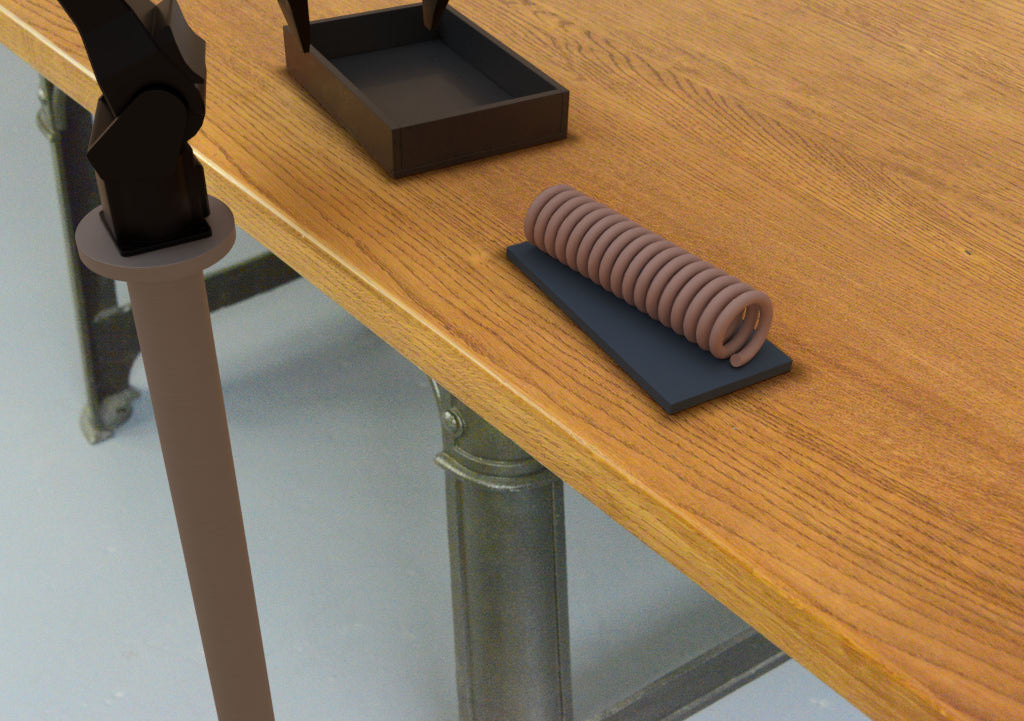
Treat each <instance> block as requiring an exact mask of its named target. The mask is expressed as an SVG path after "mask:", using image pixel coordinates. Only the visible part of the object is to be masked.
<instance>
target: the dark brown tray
mask: <svg viewBox="0 0 1024 721" xmlns="http://www.w3.org/2000/svg"><path fill="white" fill-rule="evenodd" d="M310 32H311V38H310V51H309V53H306V54H304V53H302V52H301V51H300V50H299V48H298V46H297V44H296V42H295V40H294V37H293V35H292V33H291V31H290V28H289V26H288V24H286V25H285V24H284V25H282V34H283V45H284V55H285V66H286V71H287V72H288V73H289V74H290V75H291V76H292V77H293V78H294V79H295V81H297V83H298V84H300V86H301V87H303V89H304V90H305V91H306V92H307V93H309V95H310V96H311V97H312V98H314V100H315V101H316V102H317V103H318V104H319V105H320V106H321V107H322V108H323V109H324V110H325V111H326V112H327V113H328V114H329V115H330V116H331V117H332V118H333V120H335V121H336V122H337V123H338V124H339V125H340V126H341V127H342V128H343V129H344V130H345V131H346V132H347V133H348V134H349V135H350V136H351V137H352V138H353V139H354V140H355V142H356V143H358V144H359V145H360V146H361V148H363V149H364V150H365V151H366V152H367V153H368V154H369V155H370V157H371V158H373V160H374V161H375V162H377V163H378V165H379V166H380V167H382V168H383V170H384V171H385V172H386V173H387V174H388V175H389V176H390V177H391V178H392V179H393V180H396V179H400V178H404V177H408V176H412V175H417V174H422V173H425V172H430V171H434V170H438V169H442V168H446V167H447V168H448V167H450V166H454V165H459V164H463V163H467V162H471V161H476V160H480V159H484V158H485V159H486V158H488V157H492V156H497V155H502V154H505V153H510V152H514V151H518V150H522V149H525V148H531V147H535V146H538V145H543V144H547V143H552V142H556V141H559V140H560V141H561V140H564V139H567V138H568V128H569V126H568V125H569V109H570V95H571V91H570V90H569V89H568V88H567V87H566V86H564V85H562V84H561V83H559V82H558V81H557V80H555V79H554V78H553V77H551V76H549V75H548V74H547V73H546V72H544V71H543V70H541V69H540V68H539V67H537V66H536V65H535V64H533V63H532V62H530V61H529V60H527V59H526V58H524V57H523V56H522V55H520V54H519V53H518V52H516V51H515V50H513V49H512V48H511V47H509V46H508V45H507V44H506V43H504V42H502V41H501V40H500V39H498V38H497V37H495V36H494V35H493V34H491V33H490V32H488V31H487V30H485V29H484V28H483V27H481V26H480V25H478V24H477V23H476V22H474V21H473V20H472V19H470V18H469V17H468V16H466V15H464V14H463V13H462V12H461V11H459V10H458V9H456V8H454V7H453V6H452V5H451V4H450V3H448V4H447V6H446V9H445V11H444V13H443V15H442V17H441V19H440V21H439V24H438V26H437V28H436V29H435V30H429V29H428V28H426V27H425V25H424V18H423V7H422V1H420V2H415V3H408V4H403V5H397V6H390V7H384V8H378V9H373V10H367V11H362V12H355V13H349V14H343V15H337V16H333V17H327V18H322V19H321V18H320V19H316V20H315V19H314V20H310Z"/></svg>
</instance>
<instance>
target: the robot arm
mask: <svg viewBox="0 0 1024 721" xmlns="http://www.w3.org/2000/svg"><path fill="white" fill-rule="evenodd" d="M56 1H57V2H58V4H59V6H60V7H61V8H62V9H63V11H64V12H65V14H66V15H67V17H68V18H69V19H70V21H71V22H72V24H73V25H74V26H75V28H76V29H77V32H78V34H79V35H80V38H81V41H82V44H83V47H84V49H85V50H84V51H85V52H86V55H87V58H88V61H89V63H90V66H91V69H92V72H93V75H94V78H95V81H96V83H97V86H98V88H99V90H100V92H101V95H100V96H99V97H98V98H97V102H96V107H95V110H94V111H95V112H94V117H93V122H92V127H91V130H90V136H89V141H88V146H87V151H86V158H87V160H88V162H89V163H90V165H91V167H92V168H93V170H94V174H95V179H96V183H97V189H98V193H99V197H100V202H101V204H102V208H103V210H101V211H100V212H99V216H100V220H101V221H102V223H103V225H104V227H105V229H106V230H107V232H108V234H109V236H110V238H111V240H112V241H113V243H114V245H115V247H116V249H117V250H118V252H119V254H120V256H122V257H131V256H135V255H139V254H143V253H147V252H151V251H156V250H160V249H164V248H168V247H172V246H176V245H180V244H184V243H188V242H193V241H197V240H201V239H205V238H208V237H211V236H212V229H211V227H210V225H209V224H208V223H207V221H206V220H205V218H207V217H209V215H210V207H209V201H208V189H207V181H206V175H205V167H204V165H203V164H202V163H201V161H200V160H199V159H198V158H197V156H196V154H195V153H194V150H193V149H194V148H193V147H192V146H191V144H190V143H189V142H188V141H190V140H191V139H193V138H194V137H196V135H197V134H198V133H199V131H200V130H201V128H202V127H203V125H204V120H205V117H206V113H207V110H206V109H207V84H208V83H207V77H208V74H207V73H208V69H207V63H206V54H207V53H206V48H207V42H206V40H205V39H204V38H203V37H201V36H200V35H199V34H197V33H196V32H195V31H194V30H193V29H192V27H190V24H188V22H187V20H186V18H185V15H184V13H183V11H182V9H181V6H180V4H179V2H178V1H177V0H161V1H160V2H159V3H157V4H156V3H155V2H153V1H152V0H56ZM276 2H277V4H278V6H279V8H280V10H281V13H282V15H283V17H284V20H285V22H286V25H288V26H289V28H290V31H291V33H292V35H293V37H294V40H295V42H296V44H297V46H298V48H299V50H300V51H301V52H302V53H304V54H306V53H309V51H310V38H311V32H310V21H311V20H310V10H309V0H276ZM421 2H422V7H423V18H424V25H425V27H426V28H428V29H429V30H435V29H436V28H437V26H438V24H439V21H440V19H441V17H442V15H443V13H444V11H445V9H446V6H447V4H449V2H450V0H422V1H421Z"/></svg>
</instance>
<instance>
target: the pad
mask: <svg viewBox="0 0 1024 721" xmlns="http://www.w3.org/2000/svg"><path fill="white" fill-rule="evenodd" d="M557 234H558V233H557ZM612 243H613V242H612ZM623 250H624V249H623ZM505 254H506V255H505V256H506V258H508V259H509V260H510V262H511V263H512V264H514V265H515V267H517V269H519V270H520V272H522V273H523V274H524V275H525V277H527V278H528V279H529V280H530V281H531V282H532V283H533V284H534V285H535V286H536V287H537V288H539V290H541V292H542V293H544V294H545V296H546V297H548V298H549V299H550V300H551V301H552V303H554V304H555V305H556V306H557V307H558V308H559V309H560V310H561V311H562V312H563V313H564V314H565V315H566V316H567V317H568V318H569V319H570V320H571V321H572V322H573V323H574V324H575V325H576V326H578V328H580V330H582V332H584V334H585V335H587V336H588V337H589V338H590V339H591V340H592V341H593V342H594V343H595V344H596V345H597V346H598V347H599V348H600V349H601V350H602V351H603V352H604V353H605V354H606V355H607V356H609V357H610V359H612V360H613V362H615V364H617V365H618V366H619V367H620V368H621V369H622V370H623V371H624V372H625V374H626V375H628V376H629V377H630V378H631V379H632V380H633V381H634V382H635V383H636V384H637V385H638V386H639V387H640V388H641V389H642V390H644V392H645V393H647V394H648V395H649V396H650V397H651V398H652V399H653V400H654V402H656V403H657V404H658V405H659V406H660V407H661V408H662V409H663V410H664V411H665V412H666V413H667V414H668V415H670V416H672V415H674V414H676V413H679V412H682V411H685V410H687V409H690V408H693V407H695V406H698V405H701V404H703V403H707V402H709V401H712V400H714V399H717V398H720V397H722V396H725V395H728V394H730V393H733V392H735V391H739V390H741V389H744V388H746V387H749V386H752V385H755V384H758V383H760V382H763V381H766V380H768V379H771V378H774V377H777V376H779V375H781V374H784V373H787V372H790V371H791V370H792V366H793V362H794V360H793V359H792V358H791V357H790V356H788V355H787V354H786V352H784V351H783V350H781V349H780V348H779V347H778V346H776V345H775V344H774V343H772V341H770V340H769V339H767V338H766V340H765V342H764V343H763V345H762V347H761V348H760V349H759V351H758V352H757V353H756V355H755V356H754V357H753V358H752V359H751V360H750V361H749V362H747V363H746V364H744V365H742V366H738V367H734V366H733V365H732V364H731V362H730V357H728V358H725V359H719V358H716V357H715V356H714V355H713V354H712V353H711V351H706V350H703V349H702V348H701V347H700V346H699V345H698V343H692V342H690V341H689V340H688V339H687V338H686V337H685V336H683V335H679V334H677V333H676V332H675V331H674V330H673V329H672V328H668V327H665V326H664V325H663V324H662V323H661V322H660V321H658V320H654V319H652V318H651V317H650V316H649V314H648V313H643V312H641V311H640V310H639V309H638V308H637V307H636V306H632V305H629V304H628V303H627V302H626V301H625V299H621V298H618V297H617V296H616V295H615V294H614V293H613V292H609V291H607V290H605V289H604V288H603V287H602V285H598V284H595V283H594V282H593V281H592V280H591V279H589V278H586V277H584V276H583V275H582V274H581V273H580V272H577V271H574V270H573V269H571V268H570V266H569V265H565V264H563V263H561V262H560V261H559V259H555V258H553V257H551V256H550V255H549V254H548V253H546V252H543V251H542V250H540V249H539V248H538V247H537V246H534V245H532V244H530V243H529V242H528V240H526V241H523V242H519V243H516V244H512V245H508V246H506V253H505ZM633 259H634V258H633ZM633 259H632V261H633ZM630 264H631V263H630ZM613 267H614V266H613ZM644 267H645V266H644ZM644 267H643V269H644ZM627 269H628V268H627ZM643 269H642V270H641V272H642V271H643ZM626 271H627V270H626ZM626 271H625V272H626ZM641 272H640V274H641ZM640 274H639V275H638V277H639V276H640ZM654 277H655V276H654ZM652 280H653V279H652ZM651 282H652V281H651ZM743 320H744V318H742V320H741V322H740V324H739V326H738V328H737V329H736V331H735V332H734V334H733V335H732V337H731V338H730V339H729V340H728V341H727V342H726V343H725V344H727V343H728V342H729V341H730V340H731V339H732V338H733V337H734V336H735V335H736V333H737V332H738V330H739V328H740V327H741V325H742V322H743ZM755 330H756V328H754V329H753V331H752V333H751V335H750V337H749V339H748V340H747V341H746V343H745V344H744V345H743V347H742V348H741V349H740V350H739V351H738V352H740V351H741V350H742V349H743V348H744V347H745V346H746V345H747V344H748V343H749V341H750V340H751V338H752V336H753V335H754V333H755ZM725 344H724V345H725ZM724 345H723V346H724ZM738 352H737V353H738ZM737 353H735V354H737Z"/></svg>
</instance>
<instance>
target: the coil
mask: <svg viewBox="0 0 1024 721" xmlns="http://www.w3.org/2000/svg"><path fill="white" fill-rule="evenodd" d="M557 233H558V234H557ZM523 234H524V237H525V239H526V241H528V242H529V243H530V244H532V245H534V246H537V247H538V248H539V249H540V250H542V251H543V252H546V253H548V254H549V255H550V256H551V257H553V258H555V259H559V261H560V262H561V263H563V264H565V265H569V266H570V268H571V269H573V270H574V271H577V272H580V273H581V274H582V275H583V276H584V277H586V278H589V279H591V280H592V281H593V282H594V283H595V284H598V285H602V287H603V288H604V289H605V290H607V291H609V292H613V293H614V294H615V295H616V296H617V297H618V298H621V299H625V301H626V302H627V303H628V304H629V305H632V306H636V307H637V308H638V309H639V310H640V311H641V312H643V313H648V314H649V316H650V317H651V318H652V319H654V320H658V321H660V322H661V323H662V324H663V325H664V326H665V327H668V328H672V329H673V330H674V331H675V332H676V333H677V334H679V335H683V336H685V337H686V338H687V339H688V340H689V341H690V342H692V343H698V345H699V346H700V347H701V348H702V349H703V350H706V351H711V353H712V354H713V355H714V356H715V357H716V358H719V359H725V358H728V357H730V362H731V364H732V365H733V366H734V367H738V366H742V365H744V364H746V363H747V362H749V361H750V360H751V359H752V358H753V357H754V356H755V355H756V353H757V352H758V351H759V349H760V348H761V347H762V345H763V343H764V342H765V340H766V339H767V337H768V336H769V334H770V330H771V327H772V324H773V319H774V305H773V302H772V300H771V298H770V296H769V295H768V294H767V293H765V292H764V291H762V290H757V289H756V288H755V287H754V286H752V285H751V284H749V283H746V282H742V280H741V279H740V278H738V277H737V276H734V275H730V274H729V273H728V272H727V271H726V270H723V269H722V268H718V267H716V266H715V265H714V264H713V263H712V262H709V261H706V260H703V258H702V257H700V256H698V255H696V254H693V253H691V252H690V251H689V250H687V249H686V248H684V247H681V246H679V245H678V244H676V243H675V242H674V241H671V240H667V239H666V238H665V237H664V236H662V235H661V234H657V233H655V232H654V231H653V230H651V229H649V228H647V227H644V226H643V225H641V224H640V223H638V222H637V221H634V220H632V219H631V218H630V217H627V216H626V215H624V214H620V212H619V211H617V210H615V209H613V208H610V207H609V206H607V205H606V204H604V203H602V202H599V201H598V200H596V198H594V197H591V196H588V195H587V194H586V193H584V192H582V191H581V190H577V189H576V188H575V187H573V186H572V185H570V184H567V183H560V184H554V185H551V186H549V187H547V188H545V189H544V190H542V192H540V193H539V194H538V195H537V196H536V197H535V198H534V200H533V201H532V203H531V204H530V205H529V207H528V209H527V212H526V214H525V217H524V221H523ZM612 242H613V243H612ZM623 249H624V250H623ZM633 258H634V259H633ZM632 259H633V261H632ZM630 263H631V264H630ZM613 266H614V267H613ZM644 266H645V267H644ZM643 267H644V269H643ZM627 268H628V269H627ZM642 269H643V271H642V272H641V270H642ZM626 270H627V271H626ZM625 271H626V272H625ZM640 272H641V274H640ZM639 274H640V276H639V277H638V275H639ZM654 276H655V277H654ZM652 279H653V280H652ZM651 281H652V282H651ZM742 319H743V322H742V325H741V327H740V328H739V330H738V332H737V333H736V335H735V336H734V337H733V338H732V339H731V340H730V341H729V342H728V343H727V344H725V343H726V342H727V341H728V340H729V339H730V338H731V337H732V335H733V334H734V332H735V331H736V329H737V328H738V326H739V324H740V322H741V320H742ZM756 325H757V326H756ZM753 329H755V333H754V335H753V336H752V338H751V340H750V341H749V343H748V344H747V345H746V346H745V347H744V348H743V349H742V350H741V351H740V352H738V351H739V350H740V349H741V348H742V347H743V345H744V344H745V343H746V341H747V340H748V339H749V337H750V335H751V333H752V331H753ZM724 344H725V345H724ZM723 345H724V346H723ZM737 352H738V353H737ZM735 353H737V354H735Z"/></svg>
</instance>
